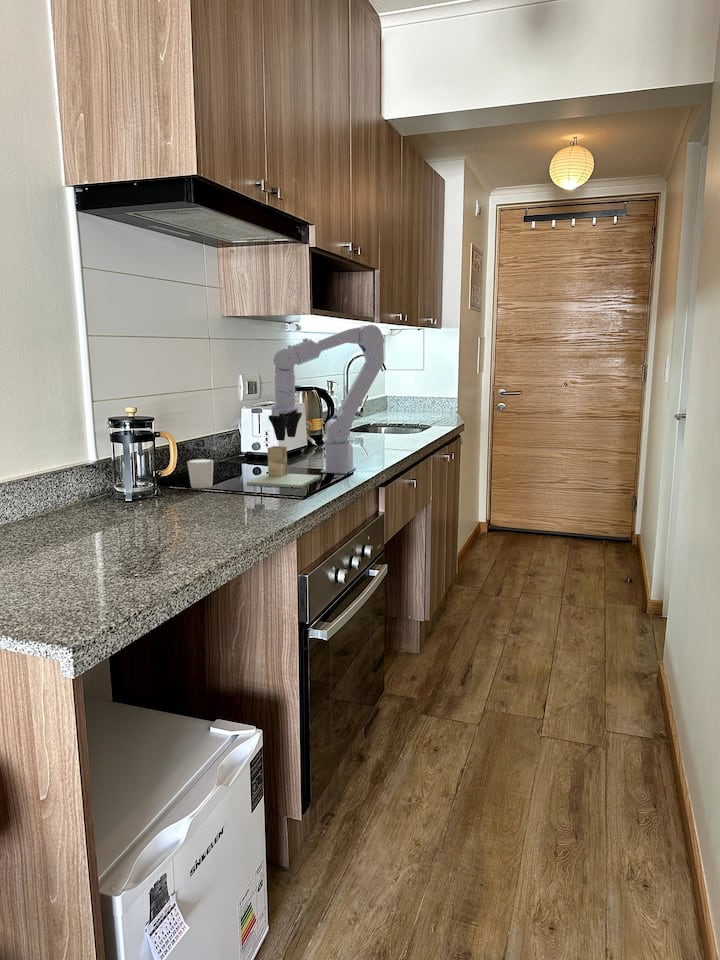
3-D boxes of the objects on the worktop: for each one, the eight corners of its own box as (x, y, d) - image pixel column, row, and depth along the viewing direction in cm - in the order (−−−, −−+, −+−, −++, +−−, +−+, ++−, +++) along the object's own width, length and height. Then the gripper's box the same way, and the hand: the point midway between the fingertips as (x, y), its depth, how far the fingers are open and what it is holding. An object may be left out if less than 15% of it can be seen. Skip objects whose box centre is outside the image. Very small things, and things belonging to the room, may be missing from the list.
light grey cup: (184, 488, 179) (182, 462, 178) (196, 483, 186) (194, 458, 185) (207, 489, 178) (206, 463, 176) (219, 484, 184) (217, 458, 183)
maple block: (274, 473, 195) (273, 446, 193) (287, 474, 193) (286, 446, 192) (268, 476, 191) (267, 448, 189) (281, 476, 190) (280, 448, 188)
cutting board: (269, 475, 196) (269, 472, 196) (320, 478, 191) (320, 475, 191) (247, 484, 183) (246, 481, 183) (301, 488, 178) (301, 485, 178)
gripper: (282, 389, 202) (283, 434, 204) (261, 392, 188) (262, 441, 191) (304, 390, 200) (305, 435, 202) (284, 393, 186) (285, 442, 189)
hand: (286, 438), depth 196 cm, fingers open, 7 cm apart
